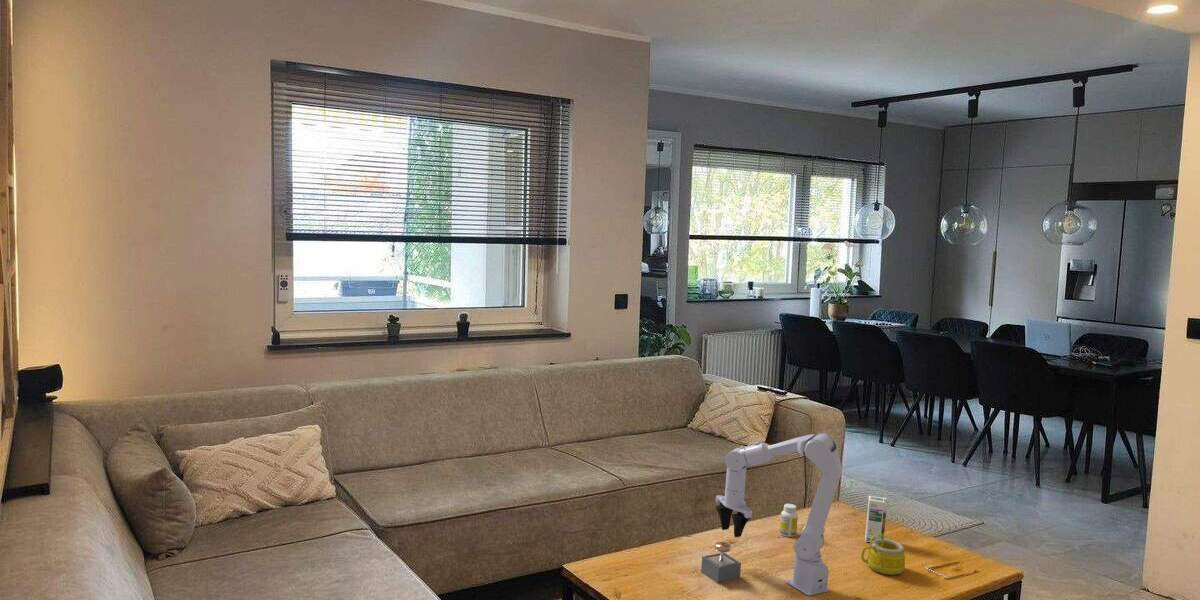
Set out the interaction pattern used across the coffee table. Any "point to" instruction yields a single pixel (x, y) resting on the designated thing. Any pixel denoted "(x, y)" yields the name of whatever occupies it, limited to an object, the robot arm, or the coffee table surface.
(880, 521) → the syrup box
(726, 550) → the plunger
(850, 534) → the coffee table surface
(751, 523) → the coffee table surface
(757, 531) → the coffee table surface
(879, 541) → the mug
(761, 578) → the coffee table surface
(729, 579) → the open grey square tray
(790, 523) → the supplement bottle
